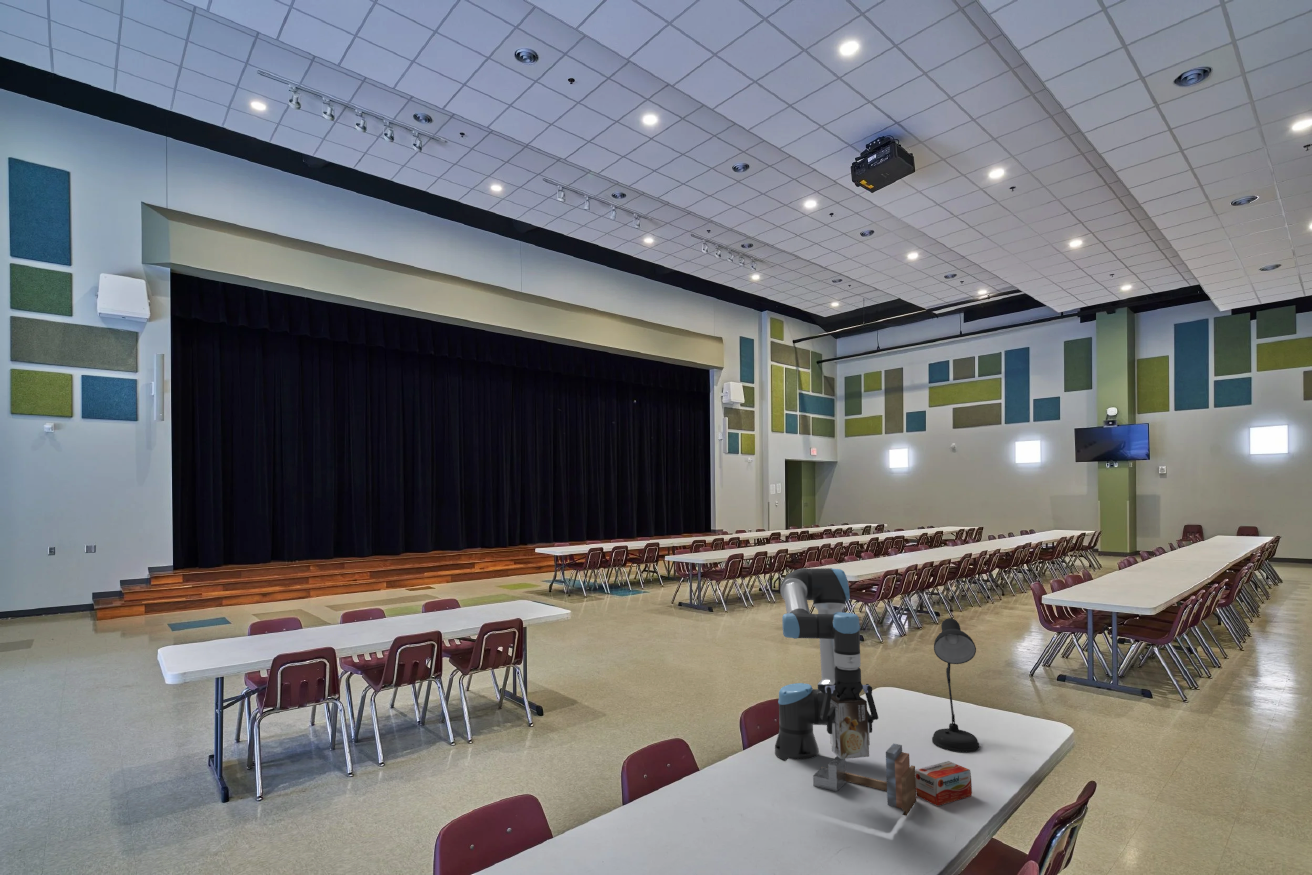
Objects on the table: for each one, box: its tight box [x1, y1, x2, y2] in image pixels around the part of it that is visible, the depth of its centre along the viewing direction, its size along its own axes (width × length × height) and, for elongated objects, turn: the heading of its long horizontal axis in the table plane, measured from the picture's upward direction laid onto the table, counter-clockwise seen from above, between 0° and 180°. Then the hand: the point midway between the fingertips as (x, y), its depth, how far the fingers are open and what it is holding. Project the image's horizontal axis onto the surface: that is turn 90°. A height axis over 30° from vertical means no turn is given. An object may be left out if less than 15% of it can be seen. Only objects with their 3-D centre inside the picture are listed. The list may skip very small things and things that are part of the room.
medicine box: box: [915, 760, 973, 807], centre depth 200 cm, size 15×8×8 cm, turn 117°
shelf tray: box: [820, 743, 917, 817], centre depth 201 cm, size 29×11×16 cm, turn 55°
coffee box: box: [830, 696, 870, 760], centre depth 196 cm, size 9×6×16 cm
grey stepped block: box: [812, 755, 847, 793], centre depth 206 cm, size 8×8×8 cm
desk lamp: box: [931, 617, 980, 753], centre depth 242 cm, size 24×26×45 cm
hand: (849, 744), depth 196 cm, fingers closed on coffee box, 9 cm apart
